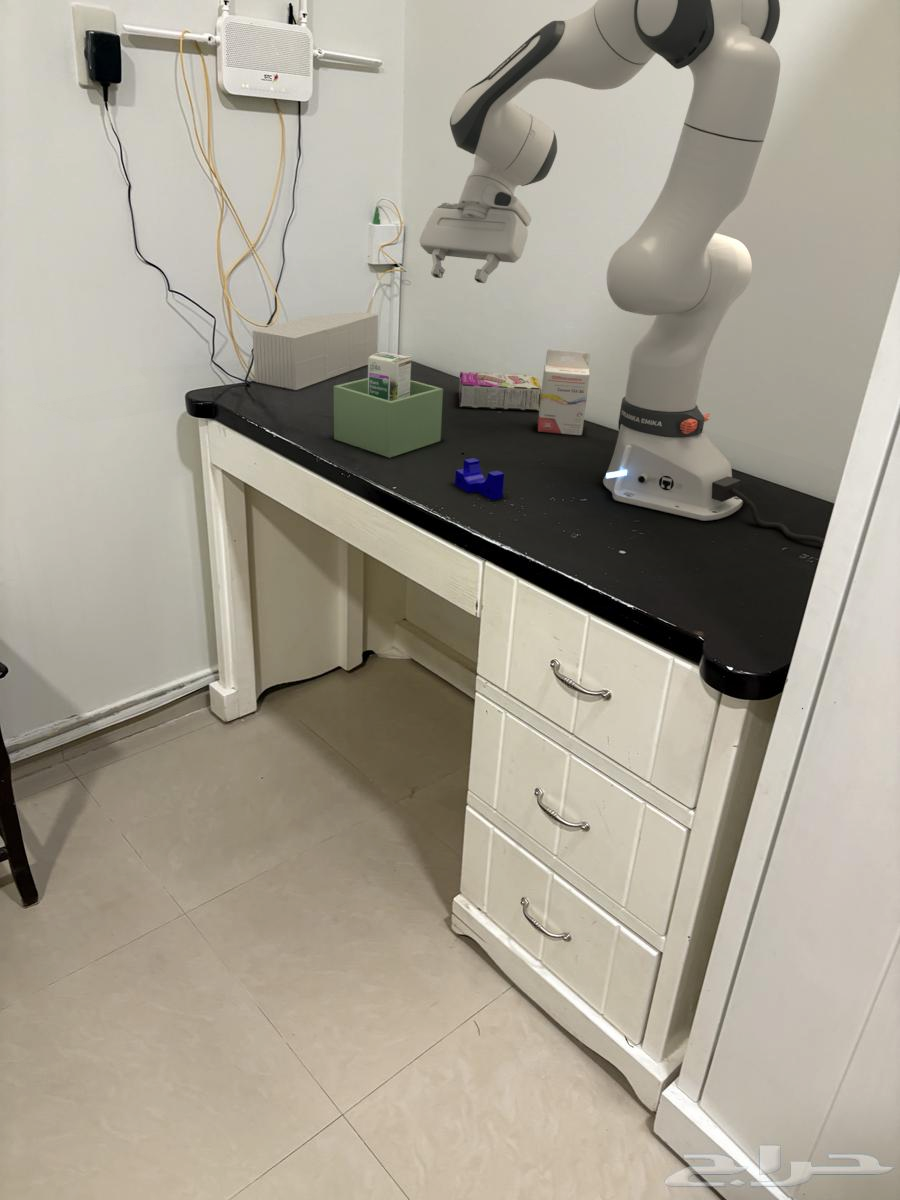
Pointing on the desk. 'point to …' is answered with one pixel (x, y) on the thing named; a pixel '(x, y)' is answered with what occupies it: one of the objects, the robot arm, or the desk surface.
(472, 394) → the candy bar box
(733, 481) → the robot arm
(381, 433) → the waste bin
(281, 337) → the stack of papers
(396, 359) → the syrup box
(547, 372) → the ink cartridge box
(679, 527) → the desk surface
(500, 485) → the cable holder
